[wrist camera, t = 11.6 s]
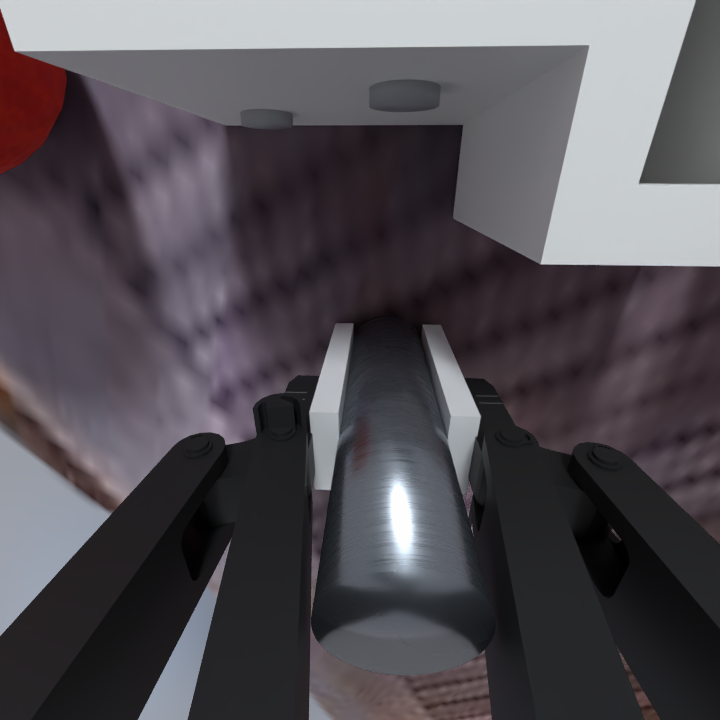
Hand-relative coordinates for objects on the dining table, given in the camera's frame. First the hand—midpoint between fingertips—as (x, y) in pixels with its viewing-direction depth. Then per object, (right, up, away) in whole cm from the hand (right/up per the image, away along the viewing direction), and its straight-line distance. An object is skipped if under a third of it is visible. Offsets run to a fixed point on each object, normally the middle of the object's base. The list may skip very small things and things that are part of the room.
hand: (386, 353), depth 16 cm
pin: (0, 0, 0) cm, 0 cm away
